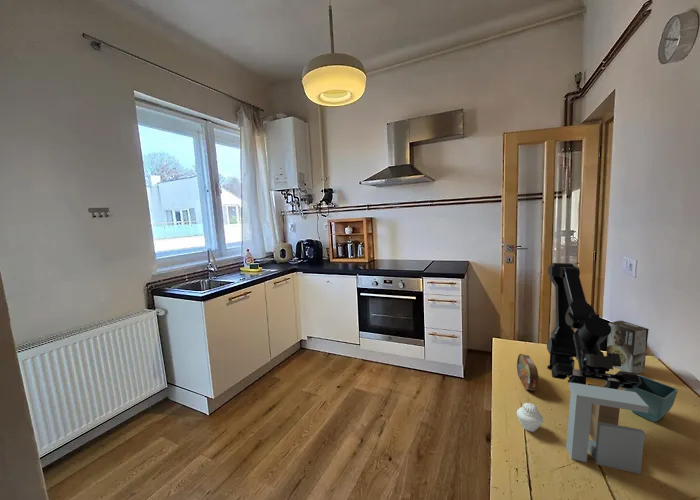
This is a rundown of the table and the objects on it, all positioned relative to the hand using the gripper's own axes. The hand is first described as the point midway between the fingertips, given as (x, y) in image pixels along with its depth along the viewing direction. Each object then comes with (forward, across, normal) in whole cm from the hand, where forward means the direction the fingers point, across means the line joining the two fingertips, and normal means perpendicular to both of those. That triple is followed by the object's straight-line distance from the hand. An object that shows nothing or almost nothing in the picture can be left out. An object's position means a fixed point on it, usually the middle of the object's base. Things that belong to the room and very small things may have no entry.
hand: (600, 409), depth 79 cm
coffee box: (-25, +22, +36) cm, 49 cm away
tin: (-10, -13, +20) cm, 26 cm away
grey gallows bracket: (+11, -2, -1) cm, 12 cm away
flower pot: (-4, +16, +15) cm, 22 cm away
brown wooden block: (+6, 0, +4) cm, 7 cm away
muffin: (+7, -16, +3) cm, 18 cm away
